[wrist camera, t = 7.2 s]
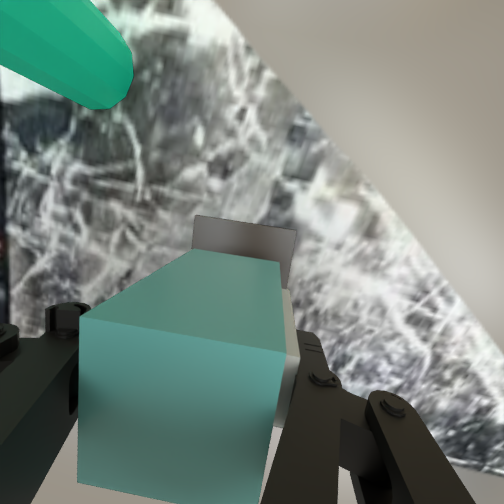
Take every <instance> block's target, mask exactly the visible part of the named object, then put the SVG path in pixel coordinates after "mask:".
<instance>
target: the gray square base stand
mask: <svg viewBox="0 0 504 504" xmlns="http://www.w3.org/2000/svg"><path fill="white" fill-rule="evenodd" d="M296 233H297V231H296V230H292V229H286V228H279V227H273V226H266V225H259V224H253V223H246V222H240V221H233V220H226V219H220V218H213V217H207V216H200V215H195V220H194V230H193V240H192V249H200V250H206V251H213V252H219V253H225V254H231V255H238V256H244V257H250V258H256V259H263V260H269V261H275V262H279V263H280V276H281V288H282V289H286V288H287V283H288V277H289V272H290V266H291V260H292V255H293V249H294V244H295V238H296Z"/></svg>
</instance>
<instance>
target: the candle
mask: <svg viewBox="0 0 504 504" xmlns="http://www.w3.org/2000/svg"><path fill="white" fill-rule="evenodd" d="M0 65H2V66H4V67H6V68H8V69H10V70H12V71H14V72H16V73H18V74H20V75H22V76H24V77H26V78H28V79H30V80H32V81H34V82H36V83H38V84H40V85H42V86H44V87H46V88H48V89H50V90H52V91H54V92H56V93H58V94H60V95H62V96H64V97H66V98H68V99H70V100H72V101H74V102H76V103H78V104H80V105H82V106H84V107H86V108H88V109H91V110H92V109H110V108H111V107H113V106H114V105H115V104H117V103H118V102H119V101H121V100H122V99H123V98H125V97H126V95H127V92H128V90H129V87H130V85H131V82H132V80H133V77H134V73H133V62H132V53H131V51H130V49H129V48H128V46H127V44H126V43H125V41H124V39H123V38H122V36H121V34H120V33H119V32H118V31H117V30H116V28H115V27H114V26H113V25H112V24H111V23H110V22H109V21H108V20H107V19H106V18H105V16H104V15H103V14H102V13H101V12H100V11H99V10H98V9H97V8H96V7H95V6H94V4H93V3H92V2H91V1H90V0H0Z"/></svg>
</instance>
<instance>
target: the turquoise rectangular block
mask: <svg viewBox="0 0 504 504" xmlns="http://www.w3.org/2000/svg"><path fill="white" fill-rule="evenodd" d="M286 354H287V351H286V339H285V326H284V313H283V301H282V288H281V276H280V263H279V262H275V261H269V260H263V259H256V258H250V257H244V256H238V255H231V254H225V253H219V252H213V251H206V250H200V249H192V250H191V251H189V252H187V253H186V254H184V255H182V256H180V257H179V258H177V259H175V260H174V261H172V262H170V263H169V264H167V265H165V266H164V267H162V268H160V269H159V270H157V271H155V272H153V273H152V274H150V275H148V276H147V277H145V278H143V279H142V280H140V281H138V282H137V283H135V284H133V285H132V286H130V287H128V288H127V289H125V290H123V291H121V292H120V293H118V294H116V295H115V296H113V297H111V298H110V299H108V300H106V301H105V302H103V303H101V304H100V305H98V306H96V307H95V308H93V309H91V310H89V311H88V312H86V313H84V314H83V315H81V316H80V321H79V391H78V461H77V464H78V465H77V482H78V483H82V484H87V485H92V486H96V487H101V488H106V489H110V490H115V491H120V492H124V493H129V494H134V495H139V496H143V497H148V498H153V499H157V500H162V501H167V502H171V503H176V504H258V502H259V497H260V492H261V486H262V481H263V476H264V470H265V464H266V460H267V455H268V449H269V444H270V439H271V433H272V428H273V423H274V418H275V412H276V407H277V402H278V396H279V391H280V386H281V380H282V375H283V370H284V365H285V359H286Z"/></svg>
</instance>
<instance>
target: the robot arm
mask: <svg viewBox="0 0 504 504" xmlns="http://www.w3.org/2000/svg"><path fill="white" fill-rule="evenodd" d="M282 301H283V313H284V326H285V339H286V351H287V354H286V359H285V365H284V370H283V375H282V380H281V386H280V391H279V396H278V402H277V407H276V412H275V418H274V423H273V426H275V427H280V428H283V430H282V434H281V437H280V441H279V444H278V447H277V451H276V454H275V457H274V460H273V464H272V467H271V470H270V473H269V477H268V480H267V483H266V487H265V490H264V493H263V497H262V500H261V503H260V504H337V499H338V473H339V472H338V471H339V466H340V467H342V468H344V469H346V470H348V471H350V476H351V480H352V484H353V488H354V492H355V495H356V500H357V503H358V504H476V503H475V501H474V500H473V498H472V497H471V495H470V494H469V492H468V491H467V489H466V488H465V486H464V485H463V483H462V481H461V480H460V478H459V477H458V475H457V474H456V472H455V470H454V469H453V467H452V466H451V464H450V463H449V461H448V460H447V458H446V456H445V455H444V453H443V452H442V450H441V449H440V447H439V446H438V444H437V443H436V441H435V439H434V438H433V436H432V435H431V433H430V432H429V430H428V429H427V427H426V425H425V424H424V422H423V421H422V419H421V418H420V416H419V415H418V413H417V411H416V410H415V409H414V408H413V407H412V406H411V405H410V404H409V403H408V402H407V401H405V400H404V399H403V398H401V397H399V396H398V395H396V394H393V393H390V392H387V391H380V390H376V391H373V392H371V393H370V395H369V397H368V400H366V399H364V398H361V397H359V396H356V395H354V394H352V393H350V392H347V391H346V390H344V389H343V388H342V385H341V381H340V379H339V378H338V377H337V376H336V375H335V374H334V373H332V372H331V371H330V370H329V367H328V364H327V361H326V358H325V355H324V353H323V349H322V346H321V343H320V340H319V338H318V337H317V336H316V335H315V334H314V333H312V332H306V331H300V330H296V328H295V321H294V315H293V309H292V303H291V297H290V291H289V290H287V289H282ZM89 310H91V307H90V306H89V305H87V304H85V303H79V302H67V303H61V304H57V305H53V306H50V307H48V308H47V309H45V322H46V332H45V333H44V334H43V335H42V336H41V337H40V338H19V328H18V327H17V326H15V325H12V324H3V323H0V504H31V502H32V500H33V498H34V497H35V495H36V493H37V491H38V489H39V488H40V486H41V484H42V482H43V480H44V479H45V477H46V475H47V473H48V471H49V469H50V467H51V466H52V464H53V462H54V460H55V458H56V457H57V455H58V453H59V451H60V449H61V447H62V446H63V444H64V442H65V440H66V438H67V437H68V435H69V433H70V431H71V429H72V428H73V426H74V424H75V422H76V420H77V418H78V391H79V321H80V316H81V315H83V314H84V313H86V312H88V311H89Z"/></svg>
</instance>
